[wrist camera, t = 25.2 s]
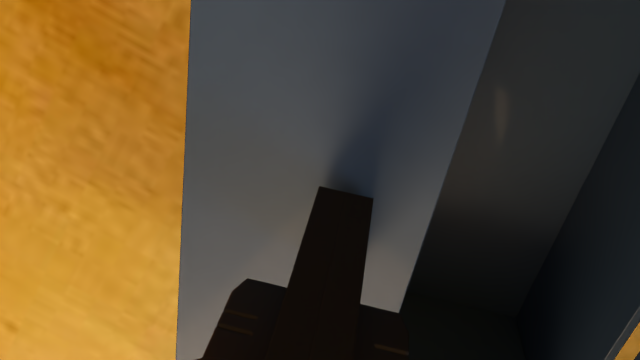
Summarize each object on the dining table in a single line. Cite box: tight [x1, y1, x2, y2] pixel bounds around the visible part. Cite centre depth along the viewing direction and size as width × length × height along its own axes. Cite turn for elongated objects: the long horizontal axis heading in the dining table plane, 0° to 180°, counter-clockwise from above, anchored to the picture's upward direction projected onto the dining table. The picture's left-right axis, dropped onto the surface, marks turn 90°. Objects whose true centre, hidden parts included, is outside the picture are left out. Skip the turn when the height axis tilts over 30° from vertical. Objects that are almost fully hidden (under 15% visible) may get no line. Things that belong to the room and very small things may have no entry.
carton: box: [399, 0, 640, 360], centre depth 16 cm, size 18×16×15 cm
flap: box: [176, 0, 506, 360], centre depth 15 cm, size 18×7×1 cm, turn 170°
